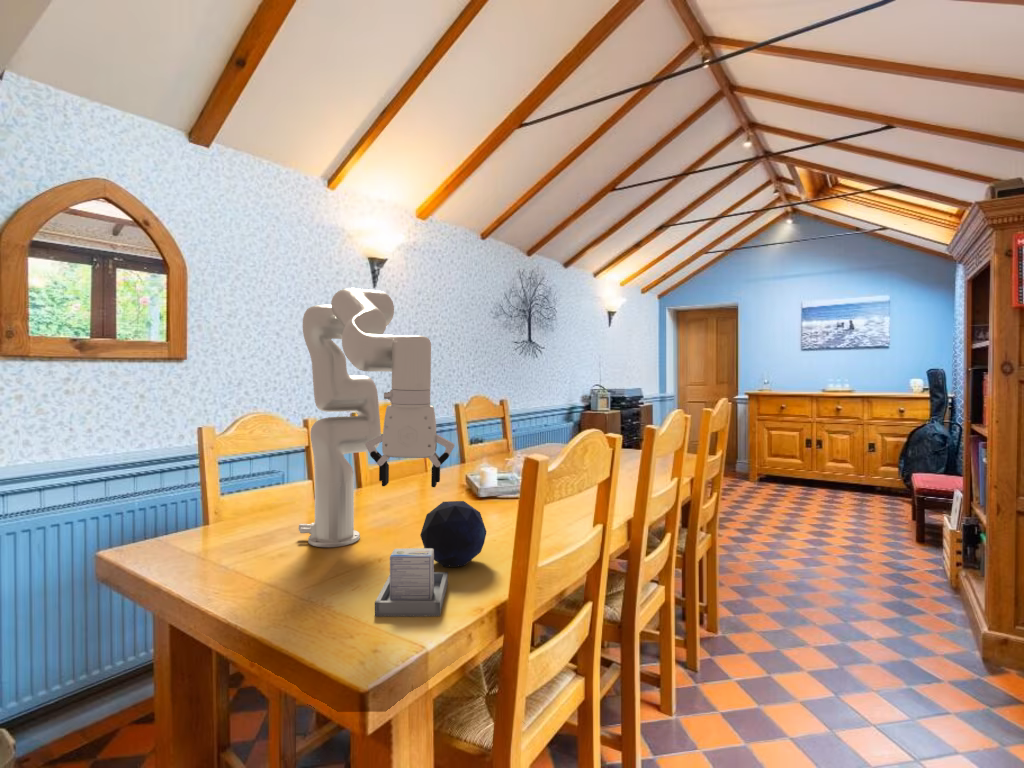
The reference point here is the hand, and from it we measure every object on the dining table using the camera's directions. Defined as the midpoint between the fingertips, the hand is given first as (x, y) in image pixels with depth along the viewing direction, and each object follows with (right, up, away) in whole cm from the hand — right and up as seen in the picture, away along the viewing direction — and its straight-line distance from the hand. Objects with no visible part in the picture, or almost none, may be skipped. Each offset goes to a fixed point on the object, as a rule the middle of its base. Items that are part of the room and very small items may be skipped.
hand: (409, 485), depth 108 cm
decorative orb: (+7, -21, +16) cm, 27 cm away
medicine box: (+1, -21, -3) cm, 21 cm away
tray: (+1, -21, -3) cm, 22 cm away
